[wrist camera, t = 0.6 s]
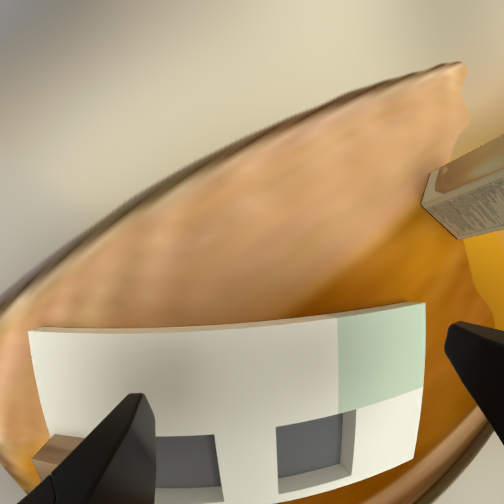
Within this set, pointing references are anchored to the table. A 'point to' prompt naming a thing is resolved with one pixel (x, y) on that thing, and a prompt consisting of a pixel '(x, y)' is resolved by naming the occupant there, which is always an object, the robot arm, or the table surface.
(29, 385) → the table surface
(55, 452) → the walnut block
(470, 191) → the skincare box
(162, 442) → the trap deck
